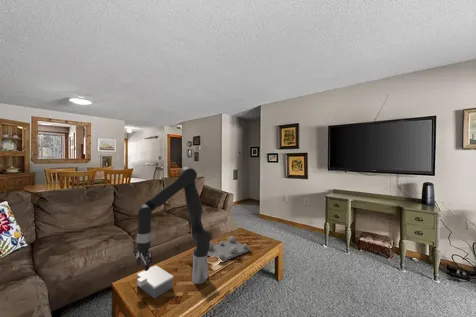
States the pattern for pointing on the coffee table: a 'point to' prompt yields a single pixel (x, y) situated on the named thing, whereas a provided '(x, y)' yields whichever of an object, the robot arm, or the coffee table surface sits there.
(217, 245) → the grey knobbed board
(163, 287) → the tub
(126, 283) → the coffee table surface
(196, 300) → the coffee table surface
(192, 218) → the robot arm
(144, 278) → the lid
